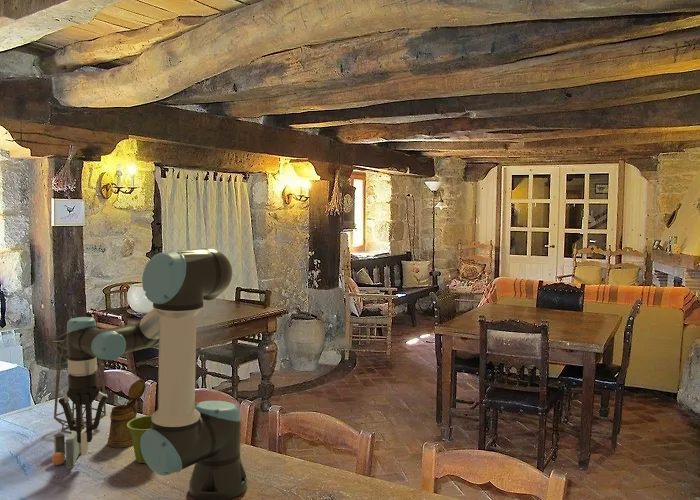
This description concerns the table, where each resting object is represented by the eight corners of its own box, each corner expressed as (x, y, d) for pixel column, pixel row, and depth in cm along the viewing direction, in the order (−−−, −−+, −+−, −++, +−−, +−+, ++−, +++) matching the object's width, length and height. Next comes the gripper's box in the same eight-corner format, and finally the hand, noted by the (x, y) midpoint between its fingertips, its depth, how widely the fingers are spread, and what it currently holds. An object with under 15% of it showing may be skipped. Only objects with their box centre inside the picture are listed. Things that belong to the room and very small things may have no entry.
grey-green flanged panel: (74, 452, 182) (73, 426, 182) (81, 452, 183) (80, 426, 182) (66, 468, 172) (65, 441, 171) (73, 468, 172) (72, 440, 171)
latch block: (65, 454, 183) (64, 435, 182) (56, 456, 182) (55, 437, 181) (63, 452, 185) (62, 433, 184) (54, 454, 183) (54, 435, 183)
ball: (66, 464, 176) (66, 453, 176) (53, 468, 174) (52, 456, 174) (63, 460, 179) (62, 449, 179) (50, 463, 177) (49, 452, 176)
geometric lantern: (83, 417, 214) (83, 318, 211) (115, 426, 207) (116, 324, 204) (42, 432, 200) (42, 326, 197) (76, 442, 193) (76, 333, 190)
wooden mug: (154, 434, 199) (153, 380, 197) (122, 450, 187) (121, 392, 185) (133, 429, 203) (132, 376, 201) (101, 444, 191) (99, 388, 189)
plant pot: (178, 456, 182) (177, 420, 181) (145, 471, 173) (144, 432, 172) (152, 447, 189) (151, 412, 188) (119, 461, 179) (118, 423, 178)
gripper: (109, 367, 178) (111, 445, 180) (60, 369, 175) (63, 449, 177) (105, 374, 171) (107, 456, 173) (54, 377, 168) (57, 460, 170)
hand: (85, 452), depth 175 cm, fingers closed
